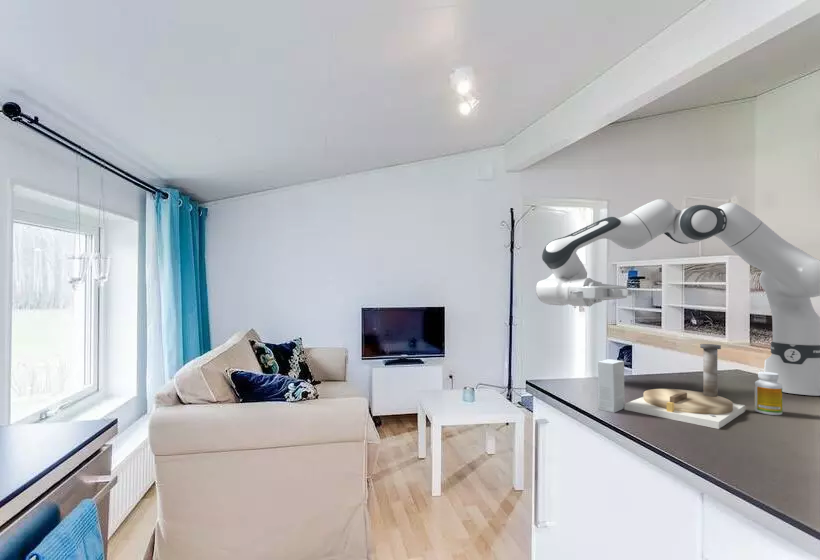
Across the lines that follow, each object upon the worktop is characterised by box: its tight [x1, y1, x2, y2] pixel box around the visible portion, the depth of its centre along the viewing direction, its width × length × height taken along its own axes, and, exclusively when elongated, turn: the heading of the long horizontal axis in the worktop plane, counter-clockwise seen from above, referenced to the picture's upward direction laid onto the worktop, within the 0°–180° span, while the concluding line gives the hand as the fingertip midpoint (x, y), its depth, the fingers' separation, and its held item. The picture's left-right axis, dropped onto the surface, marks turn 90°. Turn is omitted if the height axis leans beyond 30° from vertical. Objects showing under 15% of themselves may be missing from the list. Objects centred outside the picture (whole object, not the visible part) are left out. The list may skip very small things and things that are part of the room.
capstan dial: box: [643, 343, 734, 414], centre depth 114 cm, size 19×19×14 cm
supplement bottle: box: [754, 371, 783, 416], centre depth 112 cm, size 5×5×10 cm
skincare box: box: [597, 358, 625, 413], centre depth 114 cm, size 6×4×12 cm
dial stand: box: [624, 396, 746, 430], centre depth 113 cm, size 22×20×4 cm
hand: (629, 292), depth 132 cm, fingers closed
